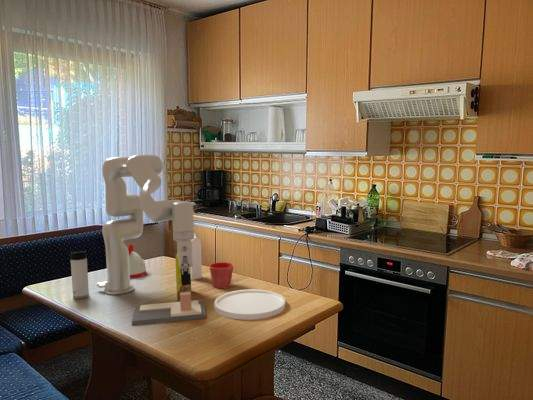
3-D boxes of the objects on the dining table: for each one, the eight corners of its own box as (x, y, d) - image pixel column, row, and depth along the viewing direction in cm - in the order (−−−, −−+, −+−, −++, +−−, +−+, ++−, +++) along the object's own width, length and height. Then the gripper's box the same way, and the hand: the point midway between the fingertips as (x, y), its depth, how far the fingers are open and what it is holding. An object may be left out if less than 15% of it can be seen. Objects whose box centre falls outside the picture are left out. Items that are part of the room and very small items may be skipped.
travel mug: (73, 300, 176) (70, 253, 174) (72, 295, 182) (69, 250, 180) (89, 297, 179) (86, 251, 177) (88, 293, 185) (85, 248, 183)
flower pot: (223, 280, 201) (222, 260, 200) (238, 285, 193) (238, 264, 192) (205, 285, 194) (204, 265, 193) (220, 291, 186) (219, 269, 185)
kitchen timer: (148, 270, 221) (147, 241, 219) (142, 278, 207) (141, 247, 206) (121, 270, 220) (120, 242, 219) (113, 278, 207) (111, 248, 205)
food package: (178, 302, 173) (176, 254, 170) (175, 302, 173) (174, 254, 171) (192, 290, 188) (190, 246, 185) (190, 290, 188) (188, 245, 186)
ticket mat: (132, 325, 151) (131, 319, 150) (135, 309, 165) (135, 304, 165) (205, 318, 156) (205, 312, 156) (202, 303, 171) (202, 298, 170)
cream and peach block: (170, 316, 153) (170, 298, 153) (170, 309, 161) (170, 291, 160) (201, 314, 156) (201, 295, 155) (200, 306, 163) (199, 289, 162)
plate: (252, 327, 149) (252, 320, 148) (199, 308, 167) (199, 302, 166) (299, 304, 170) (299, 298, 169) (248, 290, 188) (248, 285, 188)
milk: (192, 280, 202) (190, 235, 200) (184, 277, 206) (182, 233, 204) (202, 277, 207) (200, 232, 204) (194, 275, 211) (193, 231, 208)
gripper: (195, 238, 147) (197, 286, 149) (192, 230, 164) (194, 274, 166) (173, 240, 146) (175, 288, 147) (173, 232, 162) (175, 275, 164)
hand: (185, 281), depth 157 cm, fingers open, 9 cm apart
